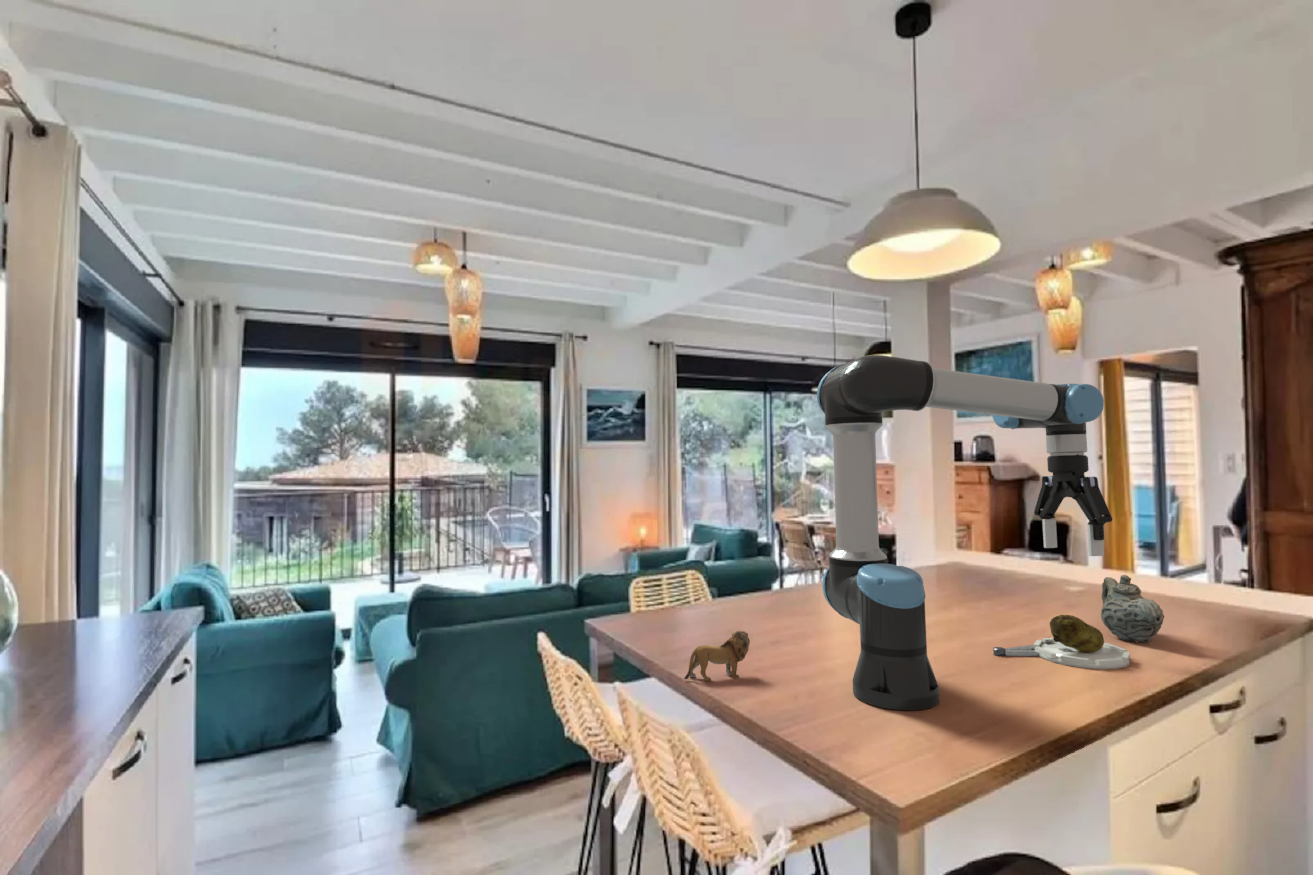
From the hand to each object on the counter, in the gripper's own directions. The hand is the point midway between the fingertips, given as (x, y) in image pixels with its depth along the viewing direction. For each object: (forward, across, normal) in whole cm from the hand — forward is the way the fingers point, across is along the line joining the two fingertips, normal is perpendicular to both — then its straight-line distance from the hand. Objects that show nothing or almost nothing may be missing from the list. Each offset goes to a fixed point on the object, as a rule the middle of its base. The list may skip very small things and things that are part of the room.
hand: (1072, 551), depth 138 cm
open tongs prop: (+23, +4, +8) cm, 24 cm away
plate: (+23, 0, -1) cm, 23 cm away
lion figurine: (+24, 0, +79) cm, 82 cm away
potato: (+22, 0, -1) cm, 22 cm away
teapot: (+23, +11, -22) cm, 33 cm away
